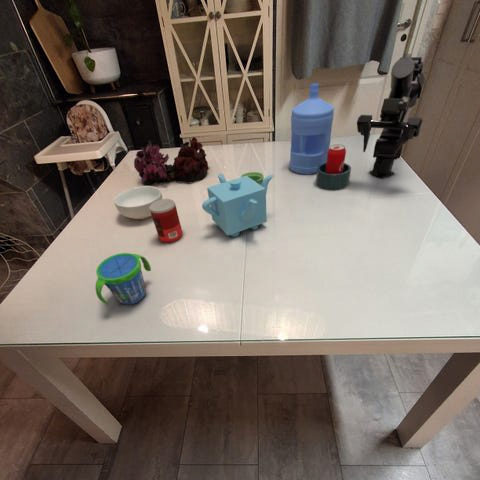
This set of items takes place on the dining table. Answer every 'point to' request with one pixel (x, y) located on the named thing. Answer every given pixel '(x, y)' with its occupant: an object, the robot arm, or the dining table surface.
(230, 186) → the teakettle
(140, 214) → the cereal bowl
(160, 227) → the canned food
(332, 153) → the beverage can
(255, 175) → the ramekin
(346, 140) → the dining table surface
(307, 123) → the water jug
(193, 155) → the flower arrangement
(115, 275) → the snack cup
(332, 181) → the pot
